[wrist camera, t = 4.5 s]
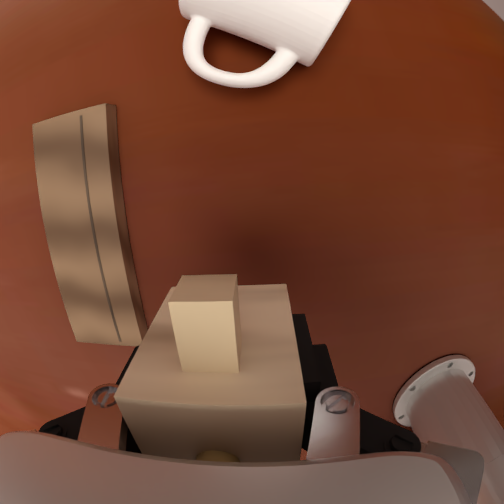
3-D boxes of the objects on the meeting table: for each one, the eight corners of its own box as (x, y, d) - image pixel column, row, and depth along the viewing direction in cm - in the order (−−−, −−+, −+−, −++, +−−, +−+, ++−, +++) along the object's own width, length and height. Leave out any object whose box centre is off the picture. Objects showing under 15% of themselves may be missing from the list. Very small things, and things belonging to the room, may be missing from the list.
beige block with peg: (284, 408, 14) (292, 529, 8) (196, 408, 14) (173, 525, 8) (285, 232, 11) (320, 355, 5) (164, 237, 11) (68, 348, 5)
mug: (234, -35, 18) (227, -86, 10) (341, 7, 19) (371, -35, 11) (168, 72, 21) (132, 46, 14) (280, 119, 23) (292, 108, 15)
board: (149, 335, 30) (143, 347, 28) (84, 331, 30) (76, 341, 28) (116, 105, 22) (105, 103, 20) (44, 124, 22) (32, 124, 20)
